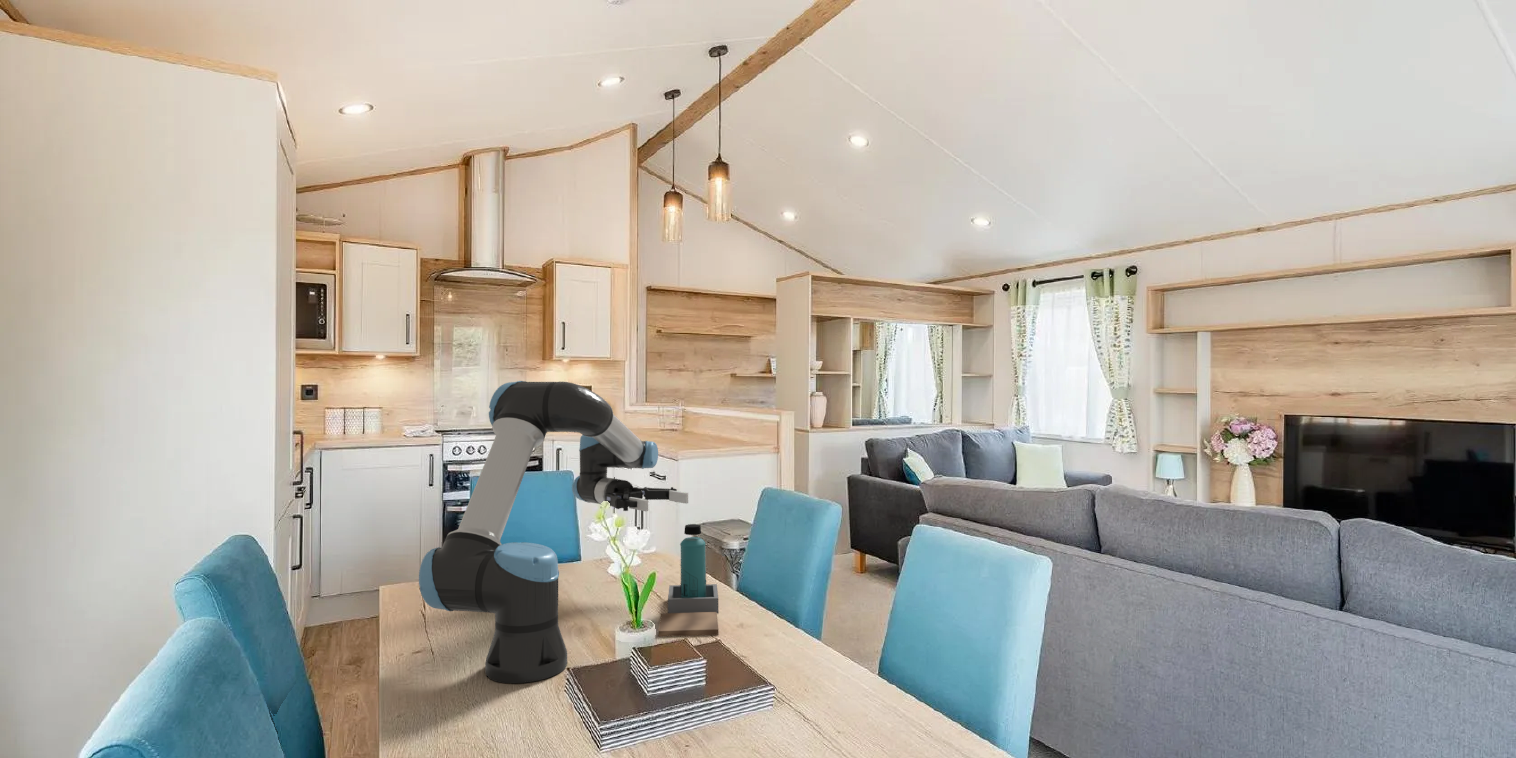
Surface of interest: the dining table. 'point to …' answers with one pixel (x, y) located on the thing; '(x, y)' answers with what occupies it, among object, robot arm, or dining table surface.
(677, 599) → the gray square tray
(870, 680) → the dining table surface
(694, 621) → the walnut board
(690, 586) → the beverage bottle
